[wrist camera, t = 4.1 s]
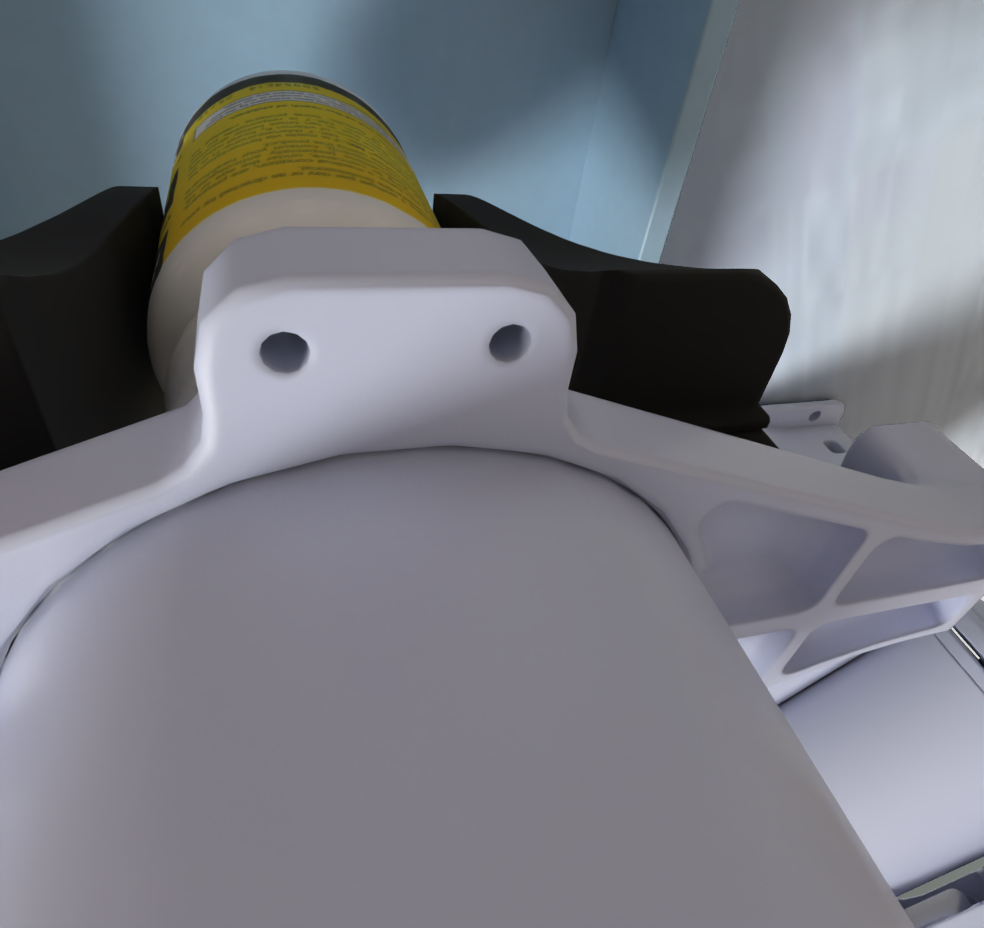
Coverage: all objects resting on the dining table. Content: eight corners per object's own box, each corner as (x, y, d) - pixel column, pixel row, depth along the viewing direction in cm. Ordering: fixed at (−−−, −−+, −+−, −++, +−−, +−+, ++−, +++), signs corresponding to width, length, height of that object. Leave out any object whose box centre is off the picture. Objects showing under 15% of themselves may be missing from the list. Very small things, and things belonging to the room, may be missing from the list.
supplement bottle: (126, 93, 12) (21, 345, 6) (381, 41, 13) (508, 228, 7) (230, 319, 15) (227, 621, 10) (428, 271, 16) (539, 529, 10)
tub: (670, -172, 14) (794, -171, 11) (553, 362, 23) (603, 447, 20) (-350, -377, 9) (-634, -475, 6) (-5, 391, 18) (-54, 507, 15)
